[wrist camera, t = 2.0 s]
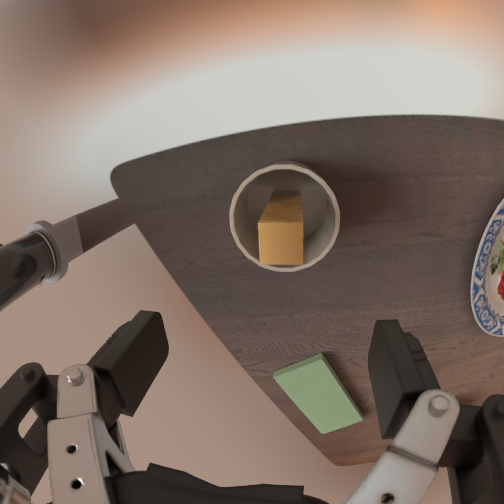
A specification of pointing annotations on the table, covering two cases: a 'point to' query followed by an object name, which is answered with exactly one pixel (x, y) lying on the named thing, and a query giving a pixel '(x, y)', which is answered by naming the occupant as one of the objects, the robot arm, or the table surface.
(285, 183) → the tin
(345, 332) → the table surface
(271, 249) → the stick
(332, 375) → the green rectangular block
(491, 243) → the ceramic plate
